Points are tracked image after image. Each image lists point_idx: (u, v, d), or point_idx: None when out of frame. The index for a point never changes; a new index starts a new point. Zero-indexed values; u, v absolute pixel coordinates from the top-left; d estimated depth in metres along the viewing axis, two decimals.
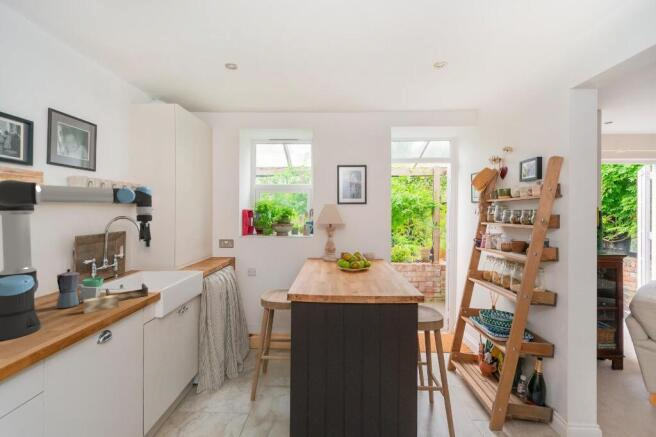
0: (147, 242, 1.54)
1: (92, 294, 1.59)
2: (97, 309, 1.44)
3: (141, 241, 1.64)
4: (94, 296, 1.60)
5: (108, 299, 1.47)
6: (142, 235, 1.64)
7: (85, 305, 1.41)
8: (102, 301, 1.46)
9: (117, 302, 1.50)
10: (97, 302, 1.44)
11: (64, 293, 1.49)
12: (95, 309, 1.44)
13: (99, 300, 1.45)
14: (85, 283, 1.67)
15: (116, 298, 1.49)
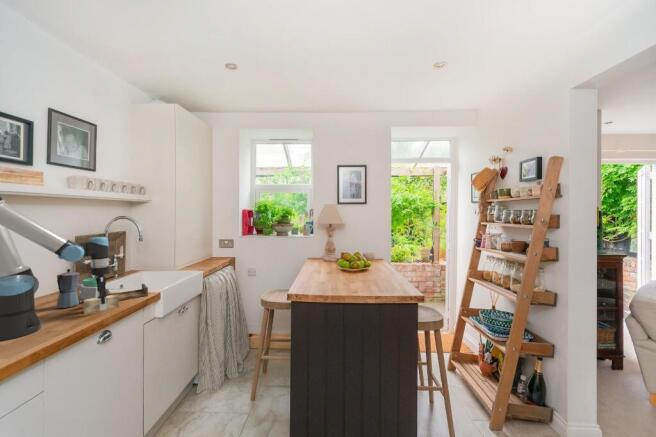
0: (102, 299, 1.41)
1: (92, 294, 1.59)
2: (97, 309, 1.44)
3: (99, 294, 1.51)
4: (94, 296, 1.60)
5: (108, 299, 1.47)
6: None
7: (85, 305, 1.41)
8: None
9: (117, 302, 1.50)
10: (97, 302, 1.44)
11: (64, 293, 1.49)
12: (95, 309, 1.44)
13: None
14: (85, 283, 1.67)
15: (116, 298, 1.49)
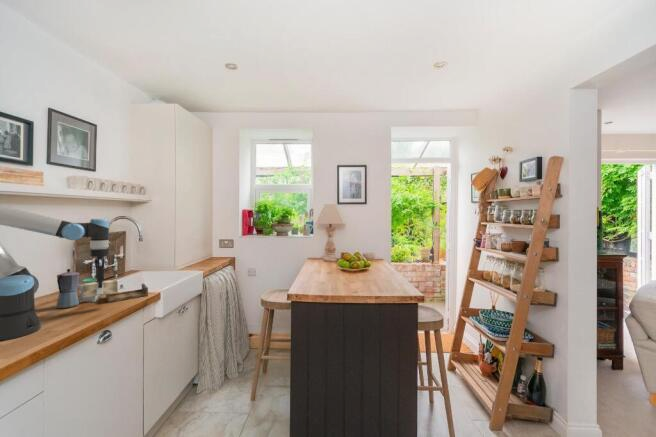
0: (99, 283, 1.43)
1: None
2: (96, 293, 1.44)
3: None
4: (94, 296, 1.60)
5: (107, 284, 1.47)
6: None
7: (84, 289, 1.41)
8: None
9: (116, 287, 1.49)
10: (96, 286, 1.44)
11: (64, 293, 1.49)
12: (93, 293, 1.43)
13: None
14: None
15: (115, 282, 1.49)
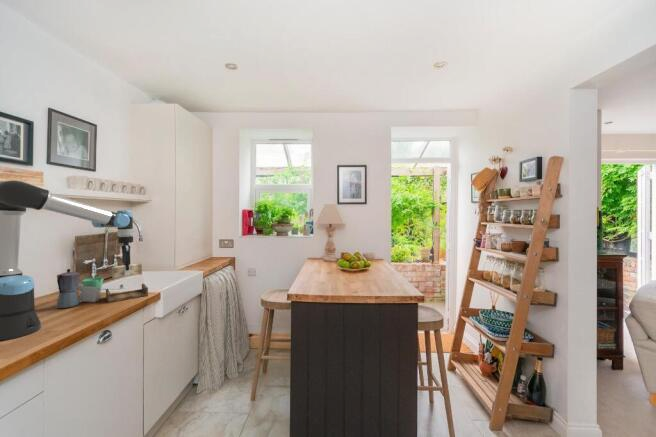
0: (127, 266, 1.65)
1: (92, 294, 1.59)
2: None
3: None
4: (94, 296, 1.60)
5: (133, 266, 1.68)
6: None
7: (114, 271, 1.62)
8: None
9: (140, 269, 1.71)
10: None
11: (64, 293, 1.49)
12: (122, 275, 1.65)
13: None
14: (85, 283, 1.67)
15: (139, 266, 1.70)
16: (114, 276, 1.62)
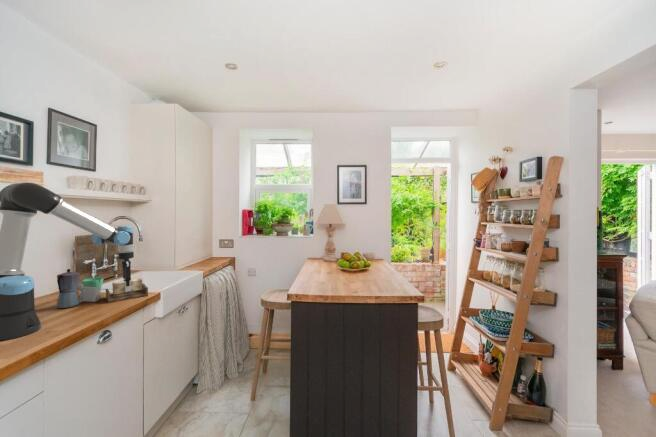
0: (127, 282, 1.65)
1: (92, 294, 1.59)
2: (124, 290, 1.66)
3: (124, 280, 1.70)
4: (94, 296, 1.60)
5: (133, 282, 1.69)
6: (125, 273, 1.70)
7: (114, 287, 1.63)
8: None
9: (141, 285, 1.71)
10: (124, 284, 1.66)
11: (64, 293, 1.49)
12: (122, 291, 1.65)
13: None
14: (85, 283, 1.67)
15: (140, 281, 1.71)
16: (115, 292, 1.63)
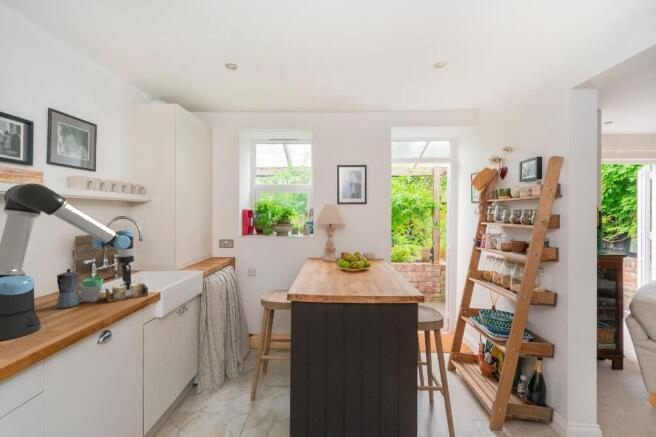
0: (127, 285, 1.64)
1: (92, 294, 1.59)
2: (124, 295, 1.66)
3: (124, 283, 1.71)
4: (94, 296, 1.60)
5: (133, 287, 1.69)
6: (125, 276, 1.71)
7: (114, 291, 1.62)
8: None
9: (141, 289, 1.71)
10: (124, 289, 1.66)
11: (64, 293, 1.49)
12: (122, 295, 1.65)
13: None
14: (85, 283, 1.67)
15: (139, 286, 1.71)
16: (114, 297, 1.63)
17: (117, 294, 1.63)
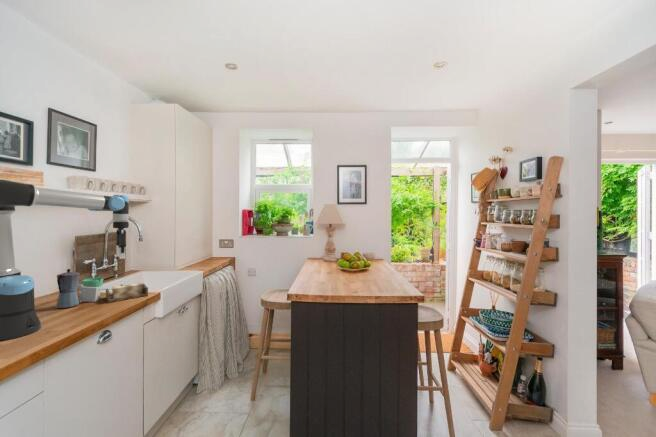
0: (122, 248, 1.59)
1: (92, 294, 1.59)
2: (124, 295, 1.66)
3: (117, 247, 1.69)
4: (94, 296, 1.60)
5: (133, 287, 1.69)
6: (119, 241, 1.69)
7: (114, 291, 1.62)
8: (128, 288, 1.67)
9: (141, 289, 1.71)
10: (124, 289, 1.66)
11: (64, 293, 1.49)
12: (122, 295, 1.65)
13: (126, 287, 1.66)
14: (85, 283, 1.67)
15: (139, 286, 1.71)
16: (114, 297, 1.63)
17: (117, 294, 1.63)
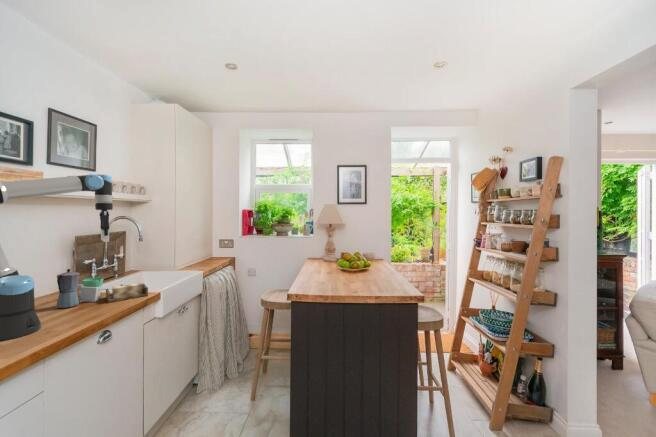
0: (105, 231, 1.50)
1: (92, 294, 1.59)
2: (124, 295, 1.66)
3: (102, 230, 1.61)
4: (94, 296, 1.60)
5: (133, 287, 1.69)
6: (103, 224, 1.60)
7: (114, 291, 1.62)
8: (128, 288, 1.67)
9: (141, 289, 1.71)
10: (124, 289, 1.66)
11: (64, 293, 1.49)
12: (122, 295, 1.65)
13: (126, 287, 1.66)
14: (85, 283, 1.67)
15: (139, 286, 1.71)
16: (114, 297, 1.63)
17: (117, 294, 1.63)
